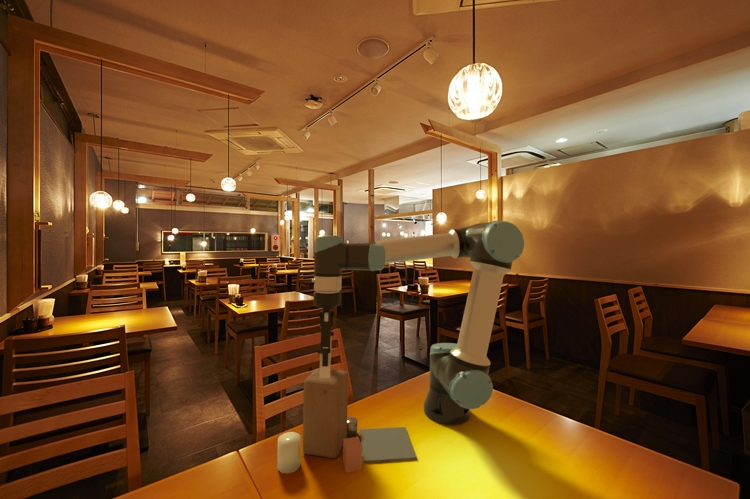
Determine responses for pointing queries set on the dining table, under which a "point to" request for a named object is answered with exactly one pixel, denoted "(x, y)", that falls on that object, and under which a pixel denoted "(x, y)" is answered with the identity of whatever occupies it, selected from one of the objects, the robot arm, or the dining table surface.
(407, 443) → the mat
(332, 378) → the wooden block
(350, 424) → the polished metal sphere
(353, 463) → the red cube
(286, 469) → the cream rounded cylinder
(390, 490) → the dining table surface
